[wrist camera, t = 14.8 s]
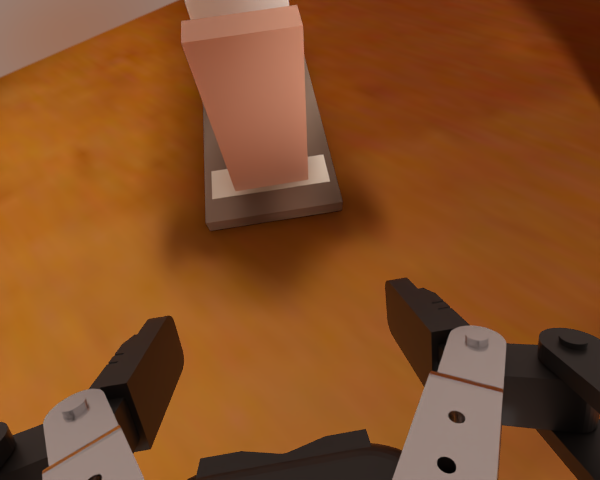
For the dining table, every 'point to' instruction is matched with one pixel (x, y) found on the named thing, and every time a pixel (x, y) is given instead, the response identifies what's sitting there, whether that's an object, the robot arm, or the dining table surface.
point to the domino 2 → (253, 92)
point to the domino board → (277, 198)
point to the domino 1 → (228, 7)
